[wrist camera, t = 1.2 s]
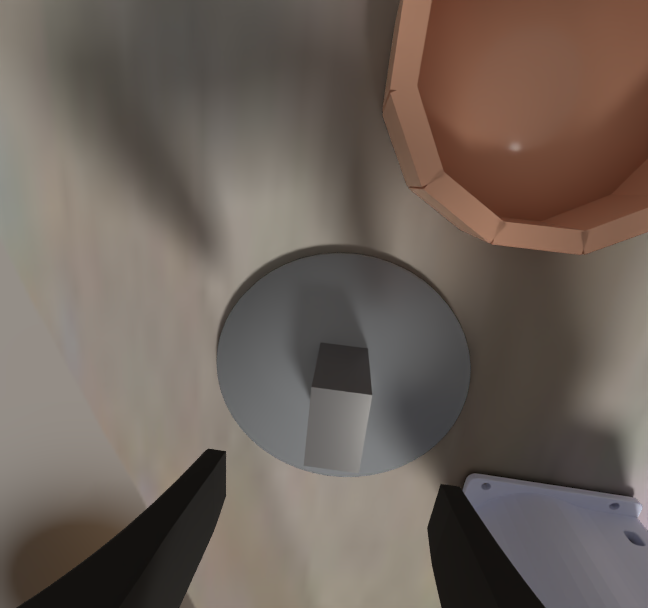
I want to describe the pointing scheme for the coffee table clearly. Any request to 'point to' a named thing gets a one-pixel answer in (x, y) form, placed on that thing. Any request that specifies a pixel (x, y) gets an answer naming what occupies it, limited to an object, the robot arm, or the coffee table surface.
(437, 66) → the bowl
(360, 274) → the lid
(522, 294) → the coffee table surface
